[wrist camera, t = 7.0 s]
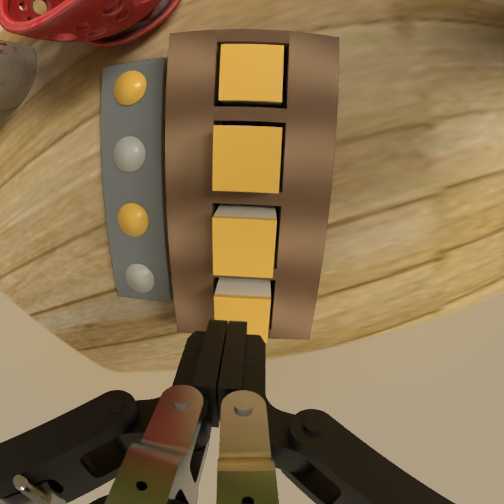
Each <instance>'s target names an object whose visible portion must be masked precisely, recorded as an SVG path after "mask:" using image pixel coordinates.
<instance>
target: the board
mask: <svg viewBox="0 0 504 504" xmlns="http://www.w3.org/2000/svg"><path fill="white" fill-rule="evenodd" d="M221 44H268V45H284V57H285V85H284V109H283V108H265V107H222V102H220V101H219V100H218V99H219V75H220V55H221ZM338 78H339V37H332V36H326V35H319V34H311V33H302V32H291V31H278V30H254V29H229V30H205V31H191V32H181V33H172V34H170V37H169V49H168V64H167V81H166V107H165V179H166V207H167V226H168V241H169V255H170V267H171V278H172V288H173V297H174V306H175V315H176V323H177V331H178V332H185V333H194V332H195V331H205V332H206V330H207V326H208V322H209V320H210V319H213V320H215V318H214V294H215V291H216V287H217V284H218V280H219V277H223V278H241V279H260V280H273V284H272V297H271V306H270V318H269V329H268V338H271V339H309V337H310V332H311V327H312V321H313V316H314V310H315V304H316V298H317V292H318V286H319V280H320V273H321V267H322V260H323V253H324V246H325V238H326V231H327V223H328V214H329V205H330V196H331V187H332V176H333V165H334V153H335V139H336V124H337V105H338ZM221 122H248V123H271V124H283V130H282V150H281V168H280V183H279V193H260V192H236V191H212V173H213V125H221ZM220 203H222V204H248V205H268V206H278V216H277V231H276V245H275V255H274V269H273V278H259V277H240V276H222V275H213V236H212V218H213V216H214V214H215V212H216V211H217V209H218V207H219V205H220Z"/></svg>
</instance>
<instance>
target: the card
mask: <svg viewBox="0 0 504 504" xmlns="http://www.w3.org/2000/svg"><path fill="white" fill-rule="evenodd" d="M165 69H166V58H164V57H162V58H154V59H147V60H140V61H134V62H128V63H122V64H117V65H112V66H107V67H103V72H102V89H101V163H102V180H103V193H104V204H105V214H106V223H107V231H108V239H109V246H110V252H111V259H112V265H113V271H114V276H115V282H116V287H117V292H118V296H120V297H129V298H138V299H147V300H157V301H168V302H171V300H172V292H171V282H170V272H169V261H168V248H167V234H166V218H165V197H164V161H163V124H164V89H165Z"/></svg>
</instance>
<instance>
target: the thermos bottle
mask: <svg viewBox="0 0 504 504" xmlns="http://www.w3.org/2000/svg"><path fill="white" fill-rule="evenodd" d="M35 72H36V55H35V52H34V50H33V49H32V48H31V46H29V45H26V44H20V43H15V42H9V41H3V40H0V110H10V109H13V108H15V107H16V106H17V105H19V104H20V103H21V102H22V101H23V99H24V98H25V97H26V95H27V93H28V92H29V90H30V87H31V85H32V83H33V80H34V76H35Z"/></svg>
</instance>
